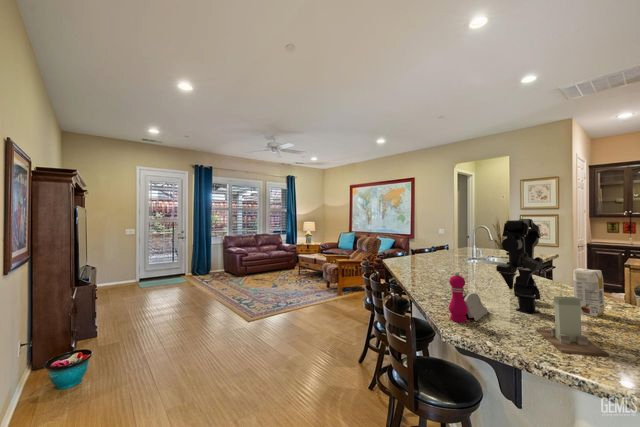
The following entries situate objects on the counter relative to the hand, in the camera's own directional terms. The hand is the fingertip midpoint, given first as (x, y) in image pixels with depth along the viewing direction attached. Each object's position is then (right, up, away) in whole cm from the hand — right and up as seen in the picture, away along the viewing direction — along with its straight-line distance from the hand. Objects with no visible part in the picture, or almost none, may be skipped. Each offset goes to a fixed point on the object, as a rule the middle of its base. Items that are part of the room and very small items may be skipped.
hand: (518, 288), depth 119 cm
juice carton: (+34, -13, +5) cm, 37 cm away
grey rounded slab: (-15, -14, +8) cm, 22 cm away
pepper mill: (-24, -14, +1) cm, 28 cm away
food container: (+21, -14, +25) cm, 35 cm away
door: (+1, -12, -23) cm, 25 cm away
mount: (+1, -12, -23) cm, 26 cm away
